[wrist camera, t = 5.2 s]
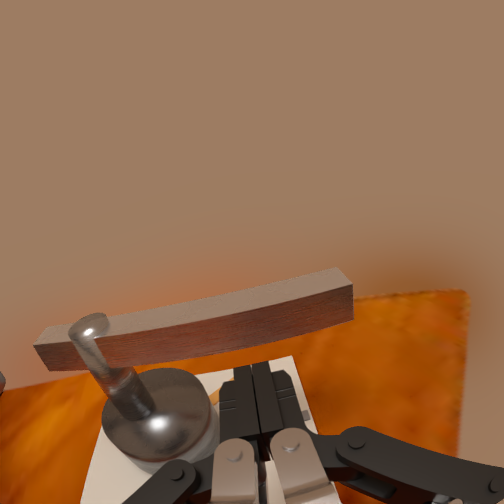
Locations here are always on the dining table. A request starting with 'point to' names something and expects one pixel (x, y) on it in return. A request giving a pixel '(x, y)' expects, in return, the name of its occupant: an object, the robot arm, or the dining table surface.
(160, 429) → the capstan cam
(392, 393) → the dining table surface
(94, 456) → the board
